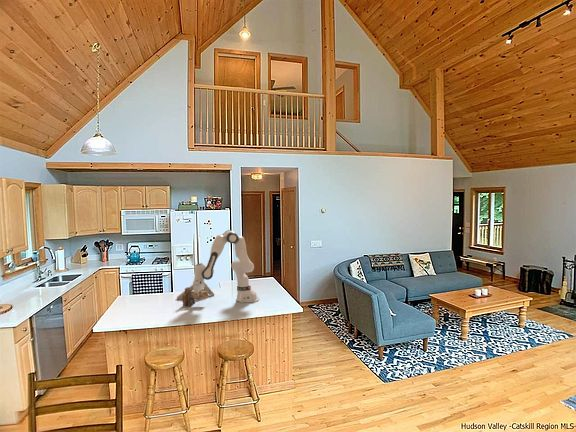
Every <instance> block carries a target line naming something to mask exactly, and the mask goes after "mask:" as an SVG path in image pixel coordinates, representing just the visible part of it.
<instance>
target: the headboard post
mask: <svg viewBox="0 0 576 432" xmlns="http://www.w3.org/2000/svg"><path fill="white" fill-rule="evenodd" d="M189 290H190V286H189V287H186V288H184V291H185V293H184V294H183V299H182V307H183V308H186V307H193V305H195V304H196V297H189Z"/></svg>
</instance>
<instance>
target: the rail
mask: <svg viewBox="0 0 576 432" xmlns="http://www.w3.org/2000/svg"><path fill="white" fill-rule="evenodd" d="M199 294H200V296H197V293H194V290H193V291H192V290H189V297H195V298H208V297H209V294H208V291H199Z"/></svg>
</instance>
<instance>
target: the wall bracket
mask: <svg viewBox="0 0 576 432" xmlns="http://www.w3.org/2000/svg"><path fill="white" fill-rule="evenodd" d="M193 286H194V285H193V284H191V285H190V286H189V287H190V290H192V291H194V289H193ZM202 291H208V296H212V297H214V296H215V292H214V291H212V289H211V288H210V287H209V286H208V284H207V283H206V282H205V281H204V288H203V289H202ZM184 293H185V290H184V291H182V292H181V293H179V295H177V296H176V299H177V300H183V294H184Z"/></svg>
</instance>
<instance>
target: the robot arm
mask: <svg viewBox="0 0 576 432" xmlns="http://www.w3.org/2000/svg"><path fill="white" fill-rule="evenodd" d="M227 243H229V244H233V245H234V251H235V253H234V254H235V257H236V258H237V259H238V260H234V261H232V263H231V267H230V268H231V269H232V270H233V272H234V274H235V276H236V281H237V283H236V284H237V286H236V292H237V293H236V294H237V295H236V301H237V302H238V303H240V304H241V303H242V304H244V303H257V302H258V301H259V300H260V297H259V296H258V295H257V292H256V291H254V290H253V289H252V285H250V283H249V282H250V281H249V276H248V275H247V273H252V272H254V269H255V264H254V263H253V262H252V261H251V259H250V258H249V256H248V251H247V243H246V240H245V237H244V236H241V235H239V236H238V234H237V233H236V232H235V231H234V230H231V229H229V230H228V229H227V230H226V231H224V233H222V234H217V235H216V236H215V238H214V240H213V243H212V245H211V248H210V255H209V259H208V262H207V264H204V263H202V262H201V263H196V264H195V265H194V268H193V269H194V270H193V271H194V273H193V274H194V278H193V282H192V285H194V286H193V289H194V290H193V291H194V293H197V296H200V294H199V291H202V289H204V282H205V280H207V281H208V280H211V279H212V278H213V275H214V273H215V270H214V268H215V265H216V262H217V260H218V258H219V257H220V256H221V254H222V253H223V250H224V248H225V245H226V244H227Z"/></svg>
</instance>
